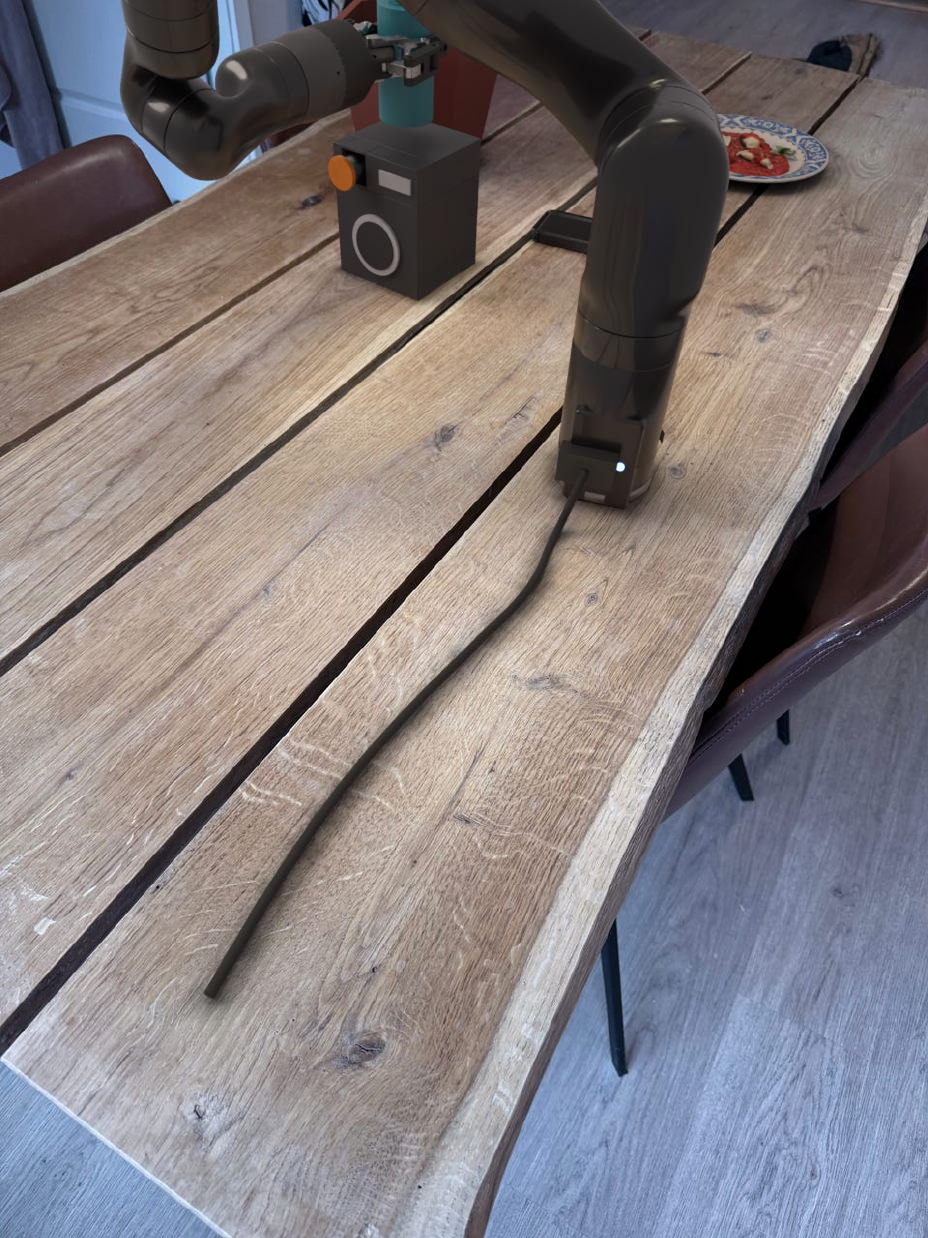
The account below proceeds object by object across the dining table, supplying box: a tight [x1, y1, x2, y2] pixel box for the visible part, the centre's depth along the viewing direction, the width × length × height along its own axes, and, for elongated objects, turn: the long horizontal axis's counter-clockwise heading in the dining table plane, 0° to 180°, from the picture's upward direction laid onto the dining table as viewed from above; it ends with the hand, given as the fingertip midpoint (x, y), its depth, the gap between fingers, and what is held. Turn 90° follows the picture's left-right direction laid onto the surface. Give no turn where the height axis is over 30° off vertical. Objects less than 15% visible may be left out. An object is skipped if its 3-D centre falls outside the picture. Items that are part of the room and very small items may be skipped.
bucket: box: [334, 0, 498, 143], centre depth 127 cm, size 24×22×25 cm
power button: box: [327, 152, 366, 191], centre depth 102 cm, size 4×4×4 cm
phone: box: [530, 209, 592, 254], centre depth 120 cm, size 8×1×15 cm
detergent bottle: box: [377, 0, 434, 128], centre depth 95 cm, size 6×6×14 cm
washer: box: [332, 121, 482, 301], centre depth 108 cm, size 13×12×15 cm
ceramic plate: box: [716, 113, 830, 184], centre depth 139 cm, size 26×26×3 cm
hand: (420, 35), depth 97 cm, fingers closed on detergent bottle, 6 cm apart
